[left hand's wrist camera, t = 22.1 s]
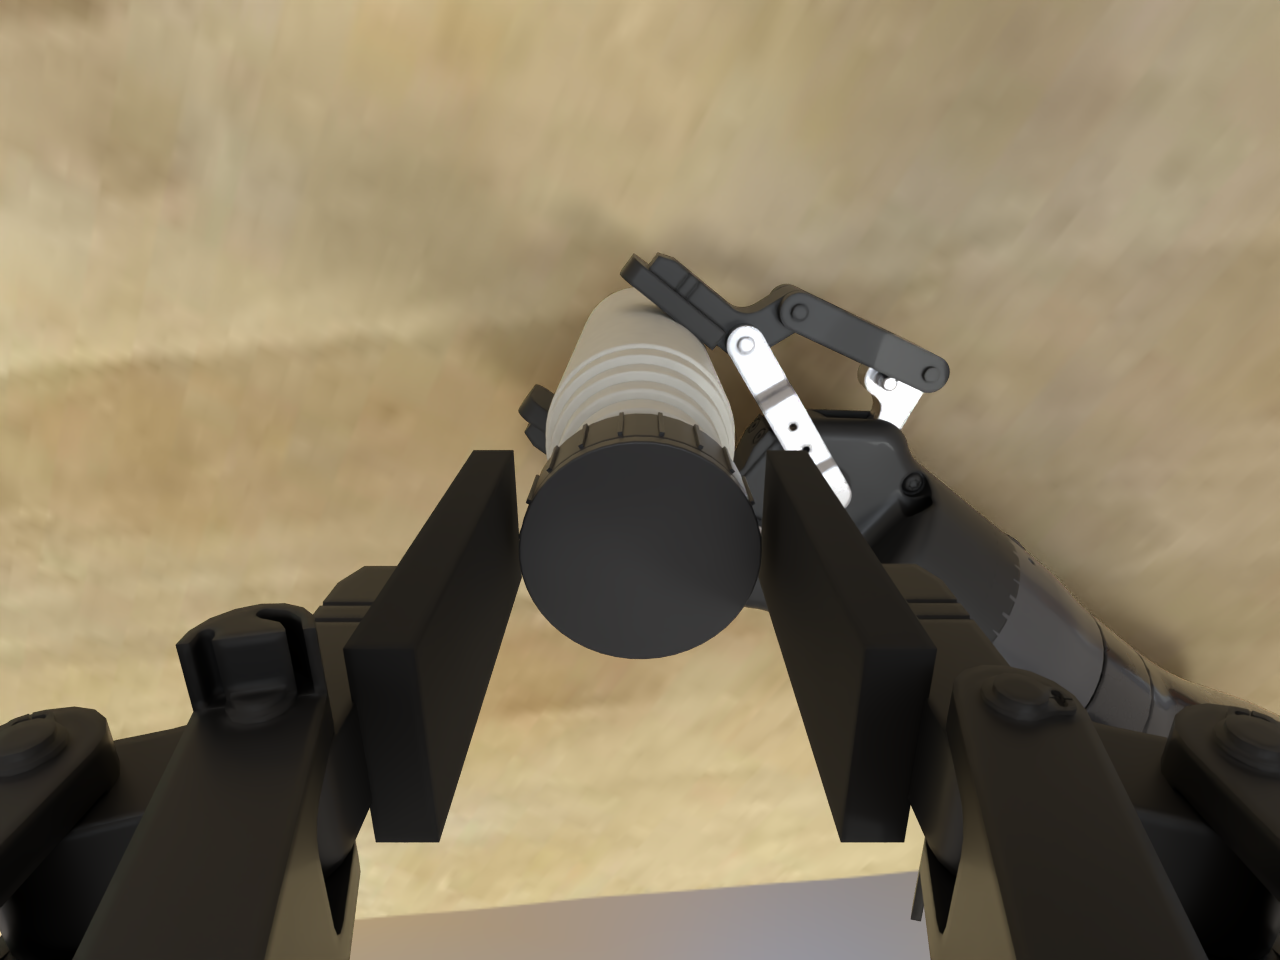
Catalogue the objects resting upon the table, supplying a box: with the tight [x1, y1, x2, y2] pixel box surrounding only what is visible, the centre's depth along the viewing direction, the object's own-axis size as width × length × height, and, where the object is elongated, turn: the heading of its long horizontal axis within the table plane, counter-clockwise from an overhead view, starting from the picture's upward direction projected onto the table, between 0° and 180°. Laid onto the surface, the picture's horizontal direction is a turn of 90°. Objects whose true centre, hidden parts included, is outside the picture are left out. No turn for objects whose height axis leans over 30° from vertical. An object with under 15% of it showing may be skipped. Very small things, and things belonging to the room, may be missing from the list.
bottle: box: [546, 287, 735, 461], centre depth 22 cm, size 5×5×18 cm
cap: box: [519, 412, 762, 659], centre depth 13 cm, size 4×4×2 cm
